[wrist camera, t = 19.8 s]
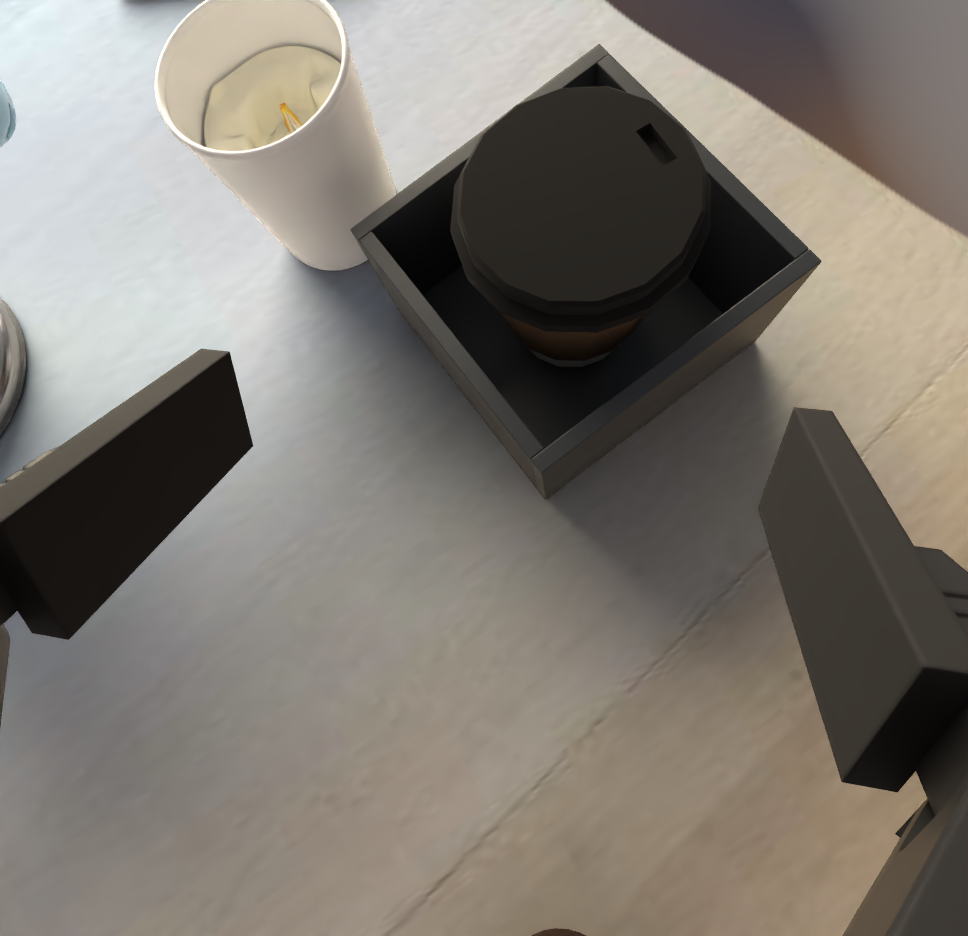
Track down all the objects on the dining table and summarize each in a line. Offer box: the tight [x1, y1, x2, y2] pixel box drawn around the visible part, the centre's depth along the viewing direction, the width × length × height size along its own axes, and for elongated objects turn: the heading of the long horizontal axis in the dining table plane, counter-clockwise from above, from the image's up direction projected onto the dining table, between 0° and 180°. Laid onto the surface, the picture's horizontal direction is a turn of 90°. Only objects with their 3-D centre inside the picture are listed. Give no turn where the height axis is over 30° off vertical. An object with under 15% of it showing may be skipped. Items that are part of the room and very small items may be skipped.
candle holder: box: [155, 0, 397, 271], centre depth 34 cm, size 10×10×12 cm
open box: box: [350, 44, 821, 499], centre depth 32 cm, size 16×16×9 cm
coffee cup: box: [450, 86, 711, 367], centre depth 29 cm, size 11×11×12 cm
